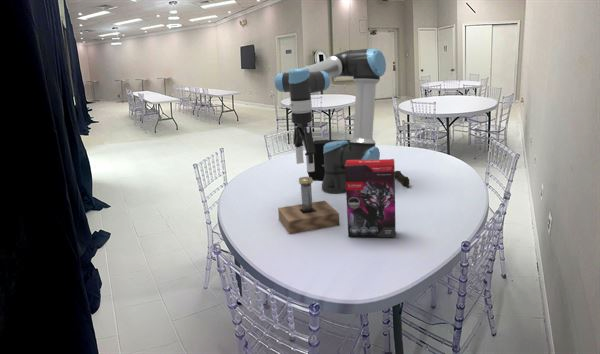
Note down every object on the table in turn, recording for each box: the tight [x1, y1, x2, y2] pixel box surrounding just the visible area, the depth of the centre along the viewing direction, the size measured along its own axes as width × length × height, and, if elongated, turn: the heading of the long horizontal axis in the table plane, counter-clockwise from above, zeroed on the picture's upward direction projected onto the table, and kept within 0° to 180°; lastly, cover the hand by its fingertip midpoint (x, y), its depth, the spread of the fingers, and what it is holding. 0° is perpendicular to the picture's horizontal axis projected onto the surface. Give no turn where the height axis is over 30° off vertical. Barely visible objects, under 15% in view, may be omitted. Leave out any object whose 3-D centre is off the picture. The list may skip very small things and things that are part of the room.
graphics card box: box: [345, 158, 397, 238], centre depth 156 cm, size 17×7×27 cm, turn 79°
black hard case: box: [306, 139, 351, 182], centre depth 228 cm, size 30×12×20 cm, turn 72°
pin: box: [298, 176, 313, 214], centre depth 172 cm, size 5×5×18 cm
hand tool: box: [395, 170, 410, 189], centre depth 216 cm, size 19×4×5 cm, turn 1°
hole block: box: [277, 200, 340, 235], centre depth 174 cm, size 20×16×5 cm
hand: (305, 167), depth 168 cm, fingers open, 13 cm apart
